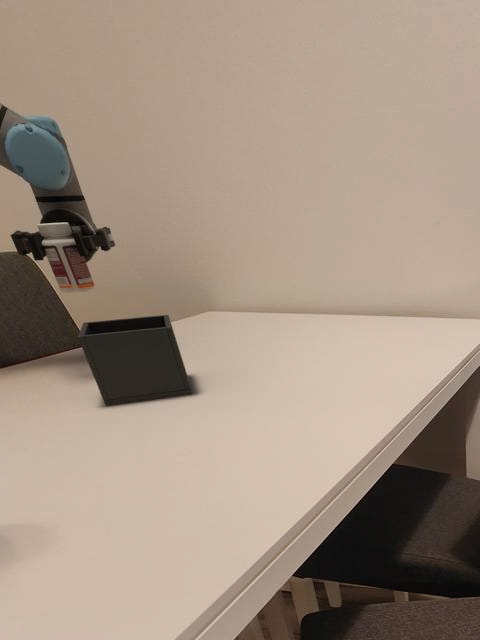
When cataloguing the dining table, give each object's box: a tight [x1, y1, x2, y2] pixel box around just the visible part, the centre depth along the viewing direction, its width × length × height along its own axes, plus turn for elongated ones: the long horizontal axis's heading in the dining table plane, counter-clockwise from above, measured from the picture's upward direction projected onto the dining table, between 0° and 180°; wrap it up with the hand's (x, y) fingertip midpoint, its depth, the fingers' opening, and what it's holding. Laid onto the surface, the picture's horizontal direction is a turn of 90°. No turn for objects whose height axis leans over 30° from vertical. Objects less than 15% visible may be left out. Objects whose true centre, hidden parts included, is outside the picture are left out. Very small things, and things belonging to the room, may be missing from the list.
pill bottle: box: [36, 223, 96, 294], centre depth 86 cm, size 5×5×8 cm
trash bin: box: [77, 314, 193, 407], centre depth 85 cm, size 11×11×9 cm
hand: (57, 245), depth 81 cm, fingers closed on pill bottle, 5 cm apart
